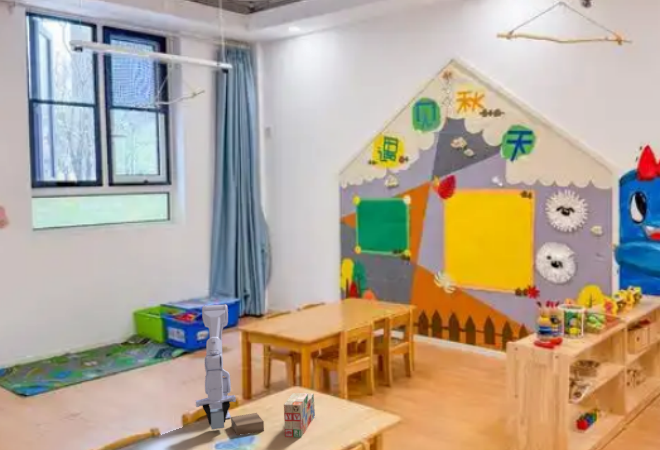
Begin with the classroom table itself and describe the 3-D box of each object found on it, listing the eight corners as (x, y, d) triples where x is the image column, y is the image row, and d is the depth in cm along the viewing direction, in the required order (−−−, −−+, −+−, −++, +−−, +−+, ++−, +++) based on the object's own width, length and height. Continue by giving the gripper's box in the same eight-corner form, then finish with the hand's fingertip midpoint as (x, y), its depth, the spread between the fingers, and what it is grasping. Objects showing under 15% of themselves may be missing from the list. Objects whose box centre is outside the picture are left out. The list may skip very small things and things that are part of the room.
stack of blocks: (299, 415, 264) (298, 385, 263) (315, 416, 263) (313, 385, 262) (284, 437, 243) (283, 403, 242) (301, 438, 242) (300, 404, 241)
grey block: (210, 425, 253) (209, 409, 252) (222, 423, 254) (221, 407, 254) (211, 429, 248) (210, 413, 248) (224, 427, 250) (223, 411, 249)
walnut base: (231, 427, 256) (231, 417, 255) (257, 422, 259) (256, 412, 259) (237, 436, 246) (236, 425, 246) (264, 431, 250) (263, 421, 249)
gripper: (196, 392, 244) (198, 429, 245) (236, 387, 248) (238, 423, 249) (194, 387, 251) (196, 422, 252) (233, 382, 255) (234, 417, 256)
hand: (216, 422), depth 251 cm, fingers closed on grey block, 5 cm apart
